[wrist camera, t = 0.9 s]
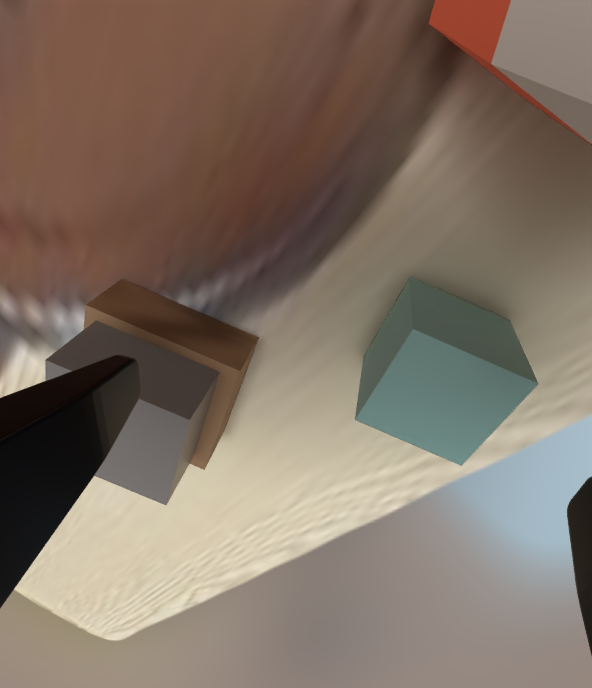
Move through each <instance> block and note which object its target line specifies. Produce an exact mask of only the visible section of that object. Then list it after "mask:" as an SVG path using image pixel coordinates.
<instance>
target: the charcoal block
mask: <svg viewBox="0 0 592 688" xmlns="http://www.w3.org/2000/svg"><path fill="white" fill-rule="evenodd" d="M114 355H124V356H128V357H132V358H135V359H136V360H137V361H138V363H139V371H140V382H141V394H140V397H139V400H138V402H137V403H136V405H135V407H134V409H133V411H132V412H131V414H130V416H129V418H128V420H127V421H126V423H125V425H124V427H123V429H122V430H121V432H120V434H119V436H118V438H117V439H116V441H115V443H114V445H113V447H112V449H111V450H110V452H109V454H108V455H107V457H106V459H105V460H104V462H103V463H102V465H101V466H100V468H99V469H98V471H97V472H96V474H95V475H94V476H96V477H99V478H101V479H104V480H106V481H109V482H111V483H113V484H116V485H118V486H121V487H123V488H126V489H128V490H130V491H133V492H135V493H138V494H140V495H142V496H145V497H147V498H150V499H152V500H155V501H157V502H159V503H162V504H164V505H167V503H168V501H169V499H170V498H171V496H172V494H173V492H174V490H175V489H176V487H177V485H178V483H179V481H180V480H181V478H182V476H183V474H184V472H185V470H186V469H187V467H188V465H189V463H190V461H191V460H192V458H193V456H194V454H195V451H196V448H197V445H198V441H199V438H200V435H201V432H202V428H203V425H204V422H205V419H206V415H207V412H208V409H209V406H210V402H211V399H212V396H213V393H214V389H215V386H216V383H217V380H218V377H219V373H220V372H219V371H216V370H214V369H212V368H209V367H207V366H204V365H202V364H200V363H197V362H195V361H192V360H190V359H188V358H185V357H183V356H180V355H178V354H176V353H173V352H171V351H168V350H166V349H164V348H161V347H159V346H156V345H154V344H152V343H149V342H147V341H144V340H142V339H140V338H137V337H135V336H132V335H130V334H128V333H125V332H123V331H120V330H118V329H116V328H113V327H111V326H108V325H106V324H104V323H101V322H99V321H95V322H93V323H92V324H91V325H90V326H88V327H87V328H86V329H84V330H83V331H82V332H81V333H79V334H78V335H77V336H75V337H74V338H73V339H72V340H70V341H69V342H68V343H67V344H65V345H64V346H63V347H61V348H60V349H59V350H58V351H56V352H55V353H54V354H53V355H51V356H50V357H49V358H47V359H46V360H45V361H46V381H47V380H50V379H52V378H55V377H58V376H60V375H63V374H66V373H68V372H71V371H74V370H76V369H79V368H82V367H85V366H87V365H90V364H93V363H95V362H98V361H101V360H103V359H106V358H109V357H111V356H114Z"/></svg>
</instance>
